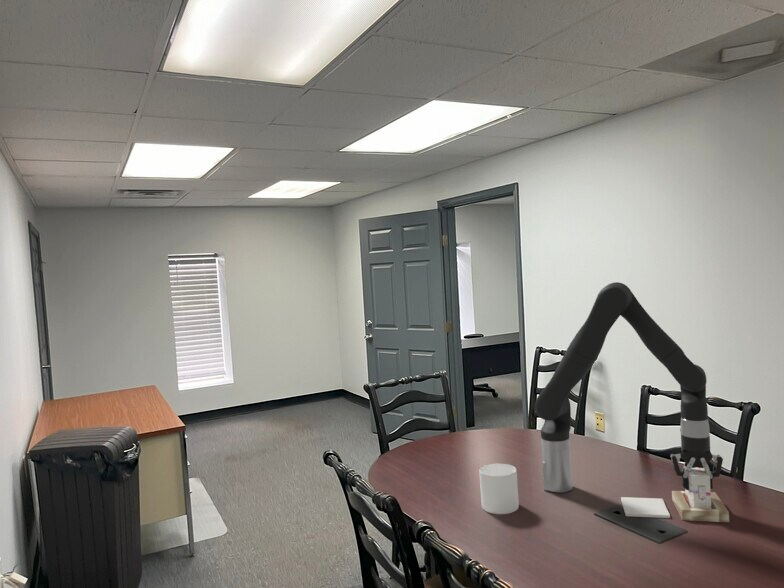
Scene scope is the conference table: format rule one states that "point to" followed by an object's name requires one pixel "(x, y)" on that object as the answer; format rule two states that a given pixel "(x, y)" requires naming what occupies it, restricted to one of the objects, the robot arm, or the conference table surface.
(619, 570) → the conference table surface
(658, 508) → the pad
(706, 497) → the ink cartridge box
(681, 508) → the frame
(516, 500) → the cup
